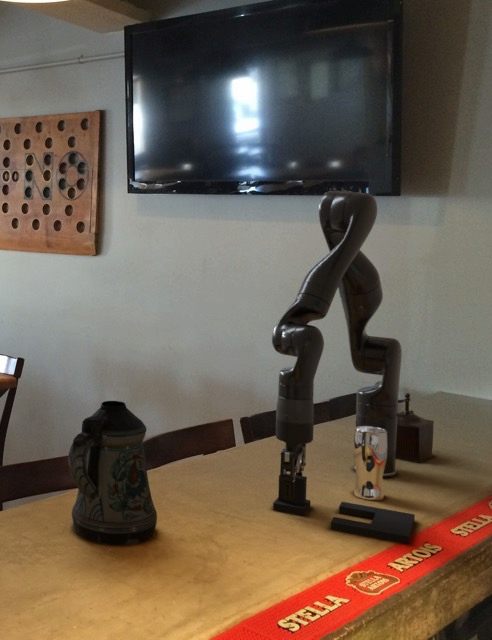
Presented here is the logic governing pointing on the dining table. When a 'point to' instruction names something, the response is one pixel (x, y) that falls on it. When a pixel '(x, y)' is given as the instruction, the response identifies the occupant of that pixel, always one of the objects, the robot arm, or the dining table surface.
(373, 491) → the beer glass
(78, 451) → the beer stein
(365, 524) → the large pad
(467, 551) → the dining table surface
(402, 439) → the brown coffee grinder
